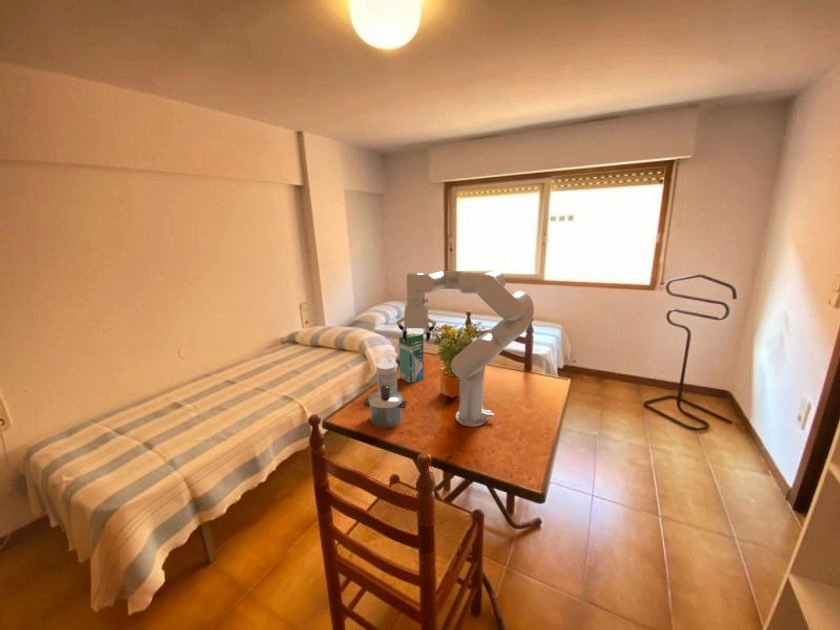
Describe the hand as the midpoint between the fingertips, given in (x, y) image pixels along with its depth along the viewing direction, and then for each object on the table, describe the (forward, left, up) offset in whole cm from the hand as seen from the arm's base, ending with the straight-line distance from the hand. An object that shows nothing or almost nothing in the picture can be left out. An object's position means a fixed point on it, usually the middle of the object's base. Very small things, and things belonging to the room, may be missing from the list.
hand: (416, 340), depth 147 cm
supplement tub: (+16, -8, -31) cm, 35 cm away
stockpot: (+11, +15, -30) cm, 36 cm away
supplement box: (-14, -10, -31) cm, 35 cm away
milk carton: (+7, -26, -31) cm, 41 cm away
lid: (+11, +15, -22) cm, 29 cm away
